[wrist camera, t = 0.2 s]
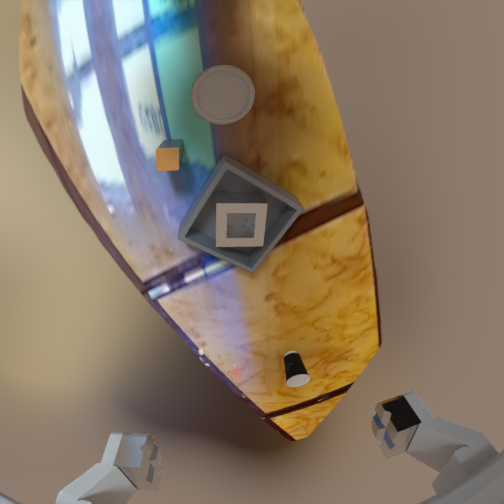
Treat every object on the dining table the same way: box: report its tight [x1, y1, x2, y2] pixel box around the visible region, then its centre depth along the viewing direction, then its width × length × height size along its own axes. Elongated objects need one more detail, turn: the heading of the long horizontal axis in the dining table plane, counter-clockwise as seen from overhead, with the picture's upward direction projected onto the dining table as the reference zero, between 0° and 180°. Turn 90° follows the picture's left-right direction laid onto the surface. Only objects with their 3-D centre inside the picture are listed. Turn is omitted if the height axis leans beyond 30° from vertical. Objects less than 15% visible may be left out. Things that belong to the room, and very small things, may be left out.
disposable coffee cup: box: [191, 65, 255, 125], centre depth 41 cm, size 10×10×12 cm
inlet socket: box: [215, 191, 268, 247], centre depth 57 cm, size 9×9×6 cm
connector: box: [156, 140, 183, 171], centre depth 48 cm, size 4×4×8 cm
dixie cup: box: [284, 351, 310, 387], centre depth 89 cm, size 8×8×11 cm
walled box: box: [178, 154, 304, 273], centre depth 58 cm, size 18×18×6 cm
